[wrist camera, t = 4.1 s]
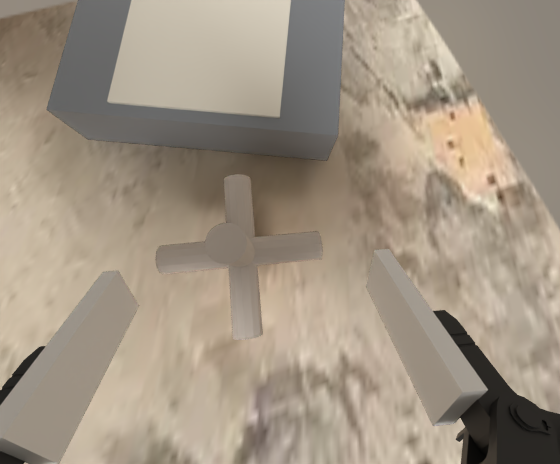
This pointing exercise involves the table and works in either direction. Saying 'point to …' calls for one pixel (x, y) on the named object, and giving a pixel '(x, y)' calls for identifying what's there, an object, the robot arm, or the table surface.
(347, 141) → the table surface
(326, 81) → the grey flat block
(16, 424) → the robot arm
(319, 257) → the pipe connector
